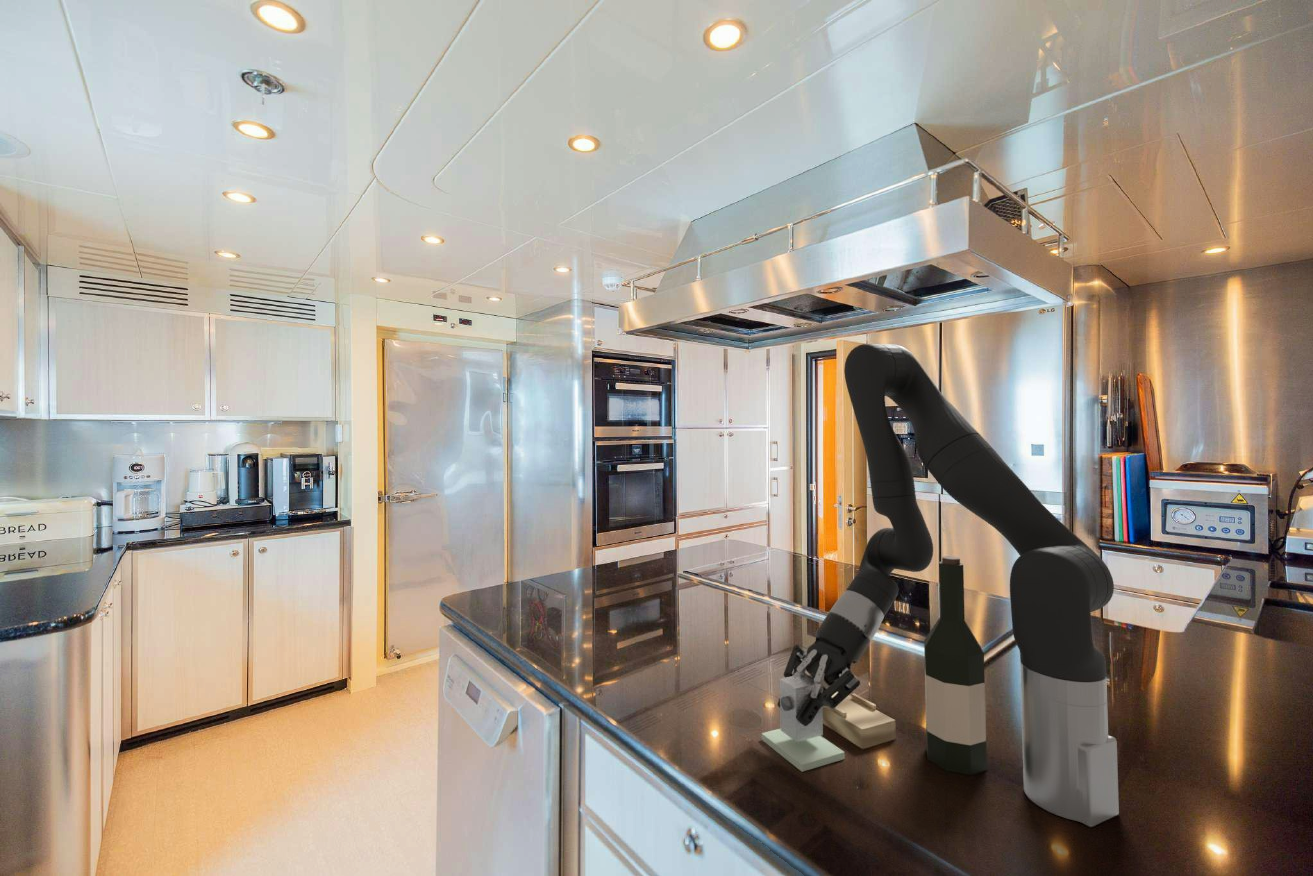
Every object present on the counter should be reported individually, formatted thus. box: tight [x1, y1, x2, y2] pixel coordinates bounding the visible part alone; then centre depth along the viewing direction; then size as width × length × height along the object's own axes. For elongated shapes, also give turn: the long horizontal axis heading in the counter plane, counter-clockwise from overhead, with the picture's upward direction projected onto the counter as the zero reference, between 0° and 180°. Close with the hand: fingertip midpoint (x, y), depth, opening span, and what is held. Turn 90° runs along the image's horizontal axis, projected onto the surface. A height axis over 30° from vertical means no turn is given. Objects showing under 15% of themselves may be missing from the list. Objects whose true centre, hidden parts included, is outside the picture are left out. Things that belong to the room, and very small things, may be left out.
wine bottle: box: [923, 555, 988, 776], centre depth 84 cm, size 8×8×30 cm
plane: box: [822, 692, 897, 750], centre depth 95 cm, size 16×7×5 cm, turn 24°
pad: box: [761, 728, 846, 772], centre depth 87 cm, size 10×8×1 cm
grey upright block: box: [779, 674, 824, 742], centre depth 87 cm, size 4×6×8 cm
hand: (791, 715), depth 86 cm, fingers closed on grey upright block, 4 cm apart
